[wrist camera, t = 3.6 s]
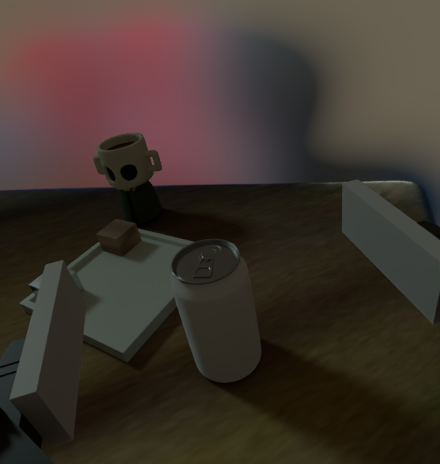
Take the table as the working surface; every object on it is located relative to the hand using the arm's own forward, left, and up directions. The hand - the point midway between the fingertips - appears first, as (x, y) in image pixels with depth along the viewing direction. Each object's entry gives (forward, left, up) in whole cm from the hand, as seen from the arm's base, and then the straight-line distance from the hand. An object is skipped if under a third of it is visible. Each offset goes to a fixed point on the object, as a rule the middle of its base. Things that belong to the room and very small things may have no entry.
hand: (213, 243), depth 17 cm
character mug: (+25, +34, -20) cm, 47 cm away
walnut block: (+16, +30, -19) cm, 39 cm away
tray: (+11, +25, -20) cm, 34 cm away
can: (+7, +7, -20) cm, 22 cm away
